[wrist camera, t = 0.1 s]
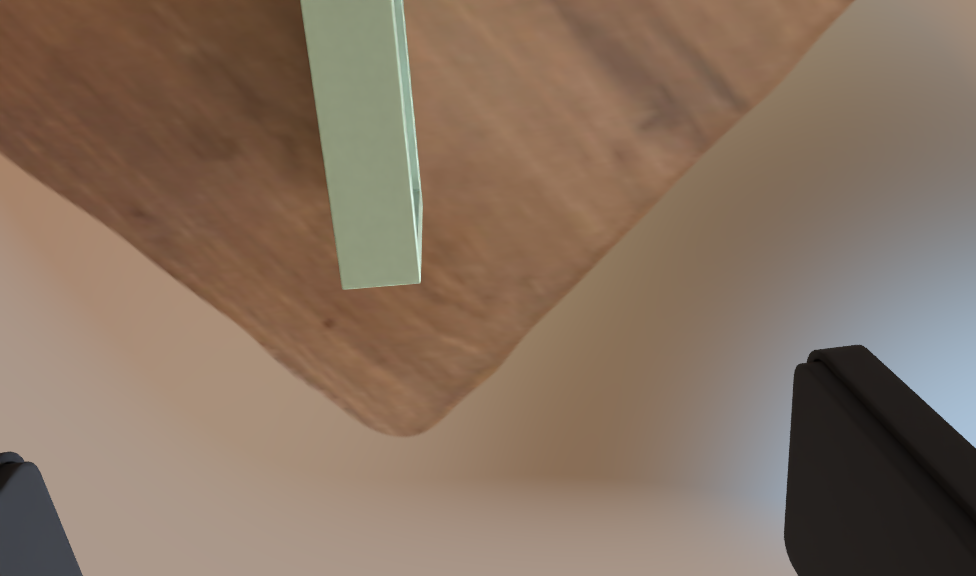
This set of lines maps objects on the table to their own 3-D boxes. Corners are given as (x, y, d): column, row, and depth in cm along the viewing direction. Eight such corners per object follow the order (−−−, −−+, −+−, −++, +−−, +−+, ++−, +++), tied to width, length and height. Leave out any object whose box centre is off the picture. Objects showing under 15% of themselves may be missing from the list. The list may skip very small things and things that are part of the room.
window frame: (312, -177, 39) (266, -225, 28) (385, -181, 39) (368, -231, 28) (362, 209, 47) (342, 290, 36) (422, 204, 47) (420, 284, 36)
